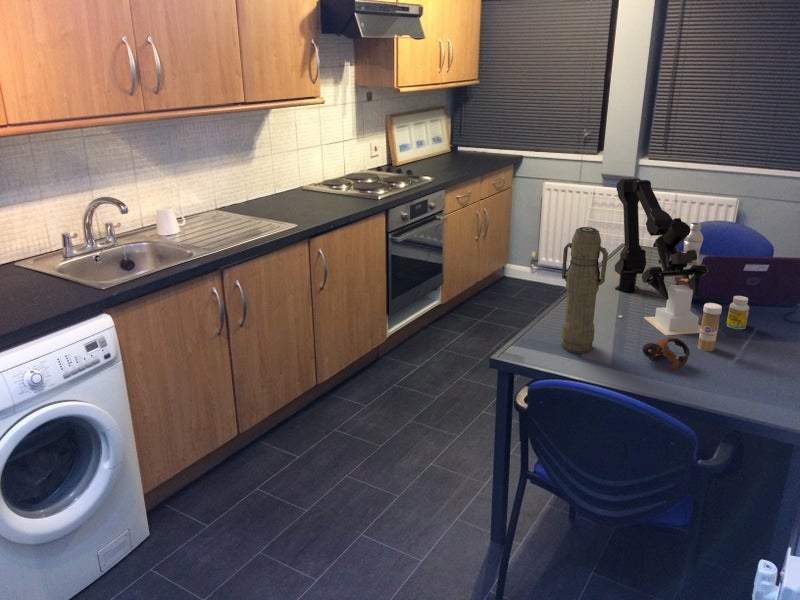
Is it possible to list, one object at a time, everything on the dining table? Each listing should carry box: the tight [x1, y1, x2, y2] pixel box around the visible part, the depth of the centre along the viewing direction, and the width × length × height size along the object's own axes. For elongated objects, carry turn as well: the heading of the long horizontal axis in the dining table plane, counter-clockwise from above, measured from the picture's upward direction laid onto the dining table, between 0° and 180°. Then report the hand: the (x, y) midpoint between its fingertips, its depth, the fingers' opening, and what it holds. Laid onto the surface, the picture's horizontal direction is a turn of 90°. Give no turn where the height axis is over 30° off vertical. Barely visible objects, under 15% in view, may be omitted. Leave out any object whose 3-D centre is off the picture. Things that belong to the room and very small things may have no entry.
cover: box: [654, 284, 700, 331], centre depth 197 cm, size 9×9×12 cm
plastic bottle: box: [682, 222, 704, 269], centre depth 240 cm, size 6×7×20 cm
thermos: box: [561, 226, 609, 354], centre depth 181 cm, size 9×12×35 cm
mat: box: [643, 316, 701, 336], centre depth 199 cm, size 14×14×1 cm
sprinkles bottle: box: [696, 302, 723, 352], centre depth 181 cm, size 5×5×14 cm
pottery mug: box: [642, 336, 691, 371], centre depth 175 cm, size 12×10×8 cm
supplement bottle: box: [726, 295, 750, 330], centre depth 196 cm, size 5×5×10 cm
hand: (681, 298), depth 195 cm, fingers open, 9 cm apart
